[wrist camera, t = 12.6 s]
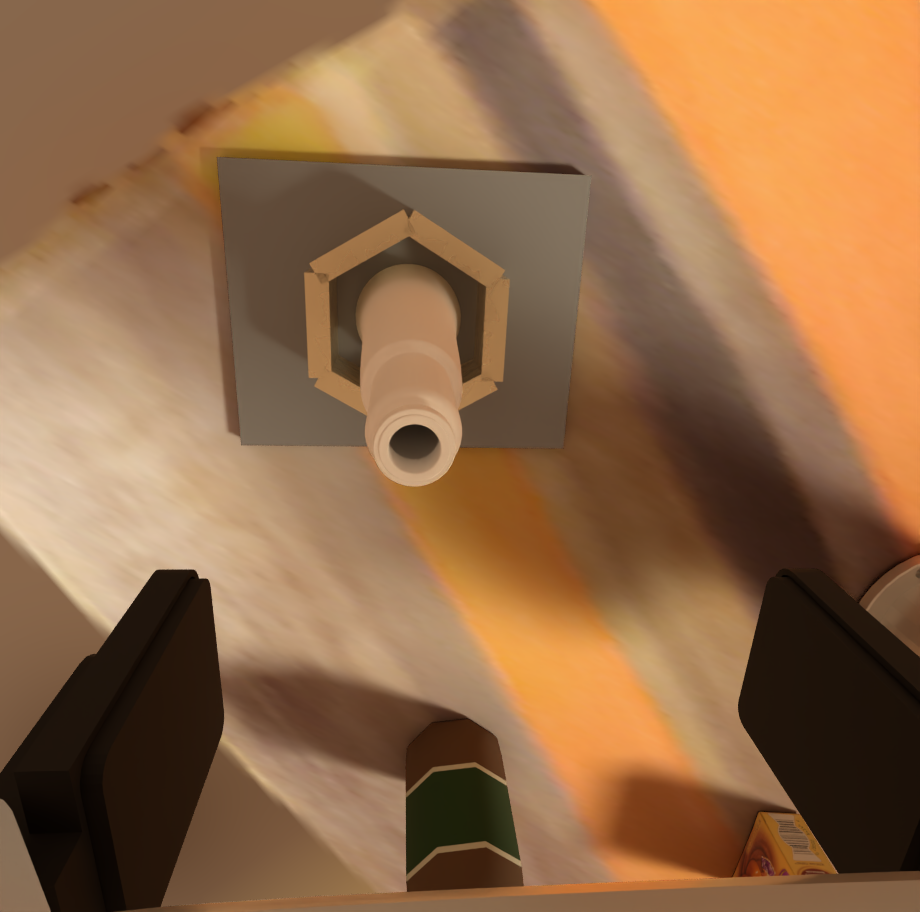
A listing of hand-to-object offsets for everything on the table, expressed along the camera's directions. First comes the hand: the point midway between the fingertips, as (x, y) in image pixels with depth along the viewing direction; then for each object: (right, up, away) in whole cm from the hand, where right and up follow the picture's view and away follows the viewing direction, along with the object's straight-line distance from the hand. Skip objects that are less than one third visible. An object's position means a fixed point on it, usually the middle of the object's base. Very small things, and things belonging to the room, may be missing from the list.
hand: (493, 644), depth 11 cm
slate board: (-4, +12, +28) cm, 30 cm away
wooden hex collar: (-4, +12, +28) cm, 30 cm away
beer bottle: (-1, -20, +40) cm, 45 cm away
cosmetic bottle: (-4, +11, +27) cm, 29 cm away
